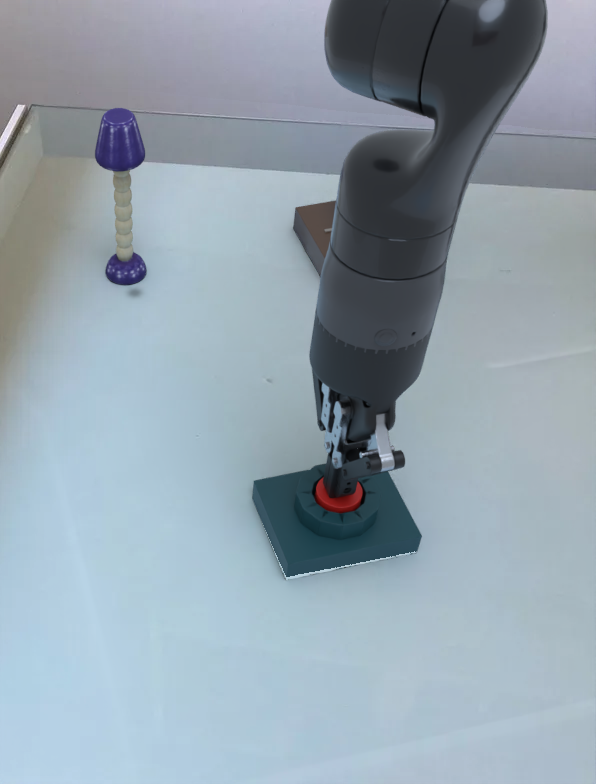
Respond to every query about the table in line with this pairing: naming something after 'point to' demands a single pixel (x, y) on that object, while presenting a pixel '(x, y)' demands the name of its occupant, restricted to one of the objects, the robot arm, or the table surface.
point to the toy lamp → (121, 188)
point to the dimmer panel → (315, 230)
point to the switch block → (332, 522)
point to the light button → (338, 499)
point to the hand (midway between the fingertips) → (338, 489)
